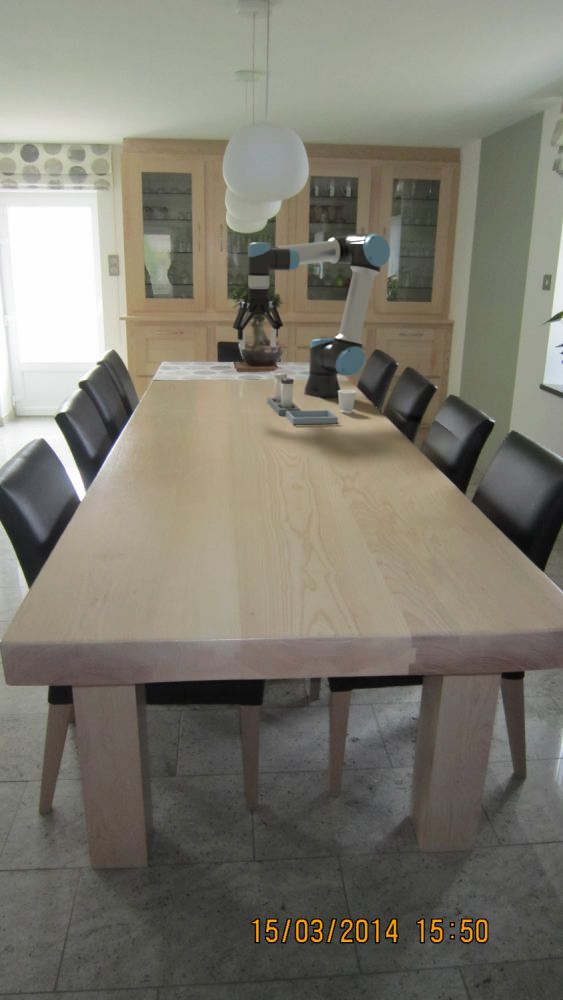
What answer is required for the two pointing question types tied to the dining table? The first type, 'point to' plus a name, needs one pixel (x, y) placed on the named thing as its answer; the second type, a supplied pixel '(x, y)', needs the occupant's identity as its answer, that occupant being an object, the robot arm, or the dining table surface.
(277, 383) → the cylinder
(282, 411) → the fuse strip
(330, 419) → the parts tray
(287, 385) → the cylinder
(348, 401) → the cup
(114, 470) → the dining table surface
